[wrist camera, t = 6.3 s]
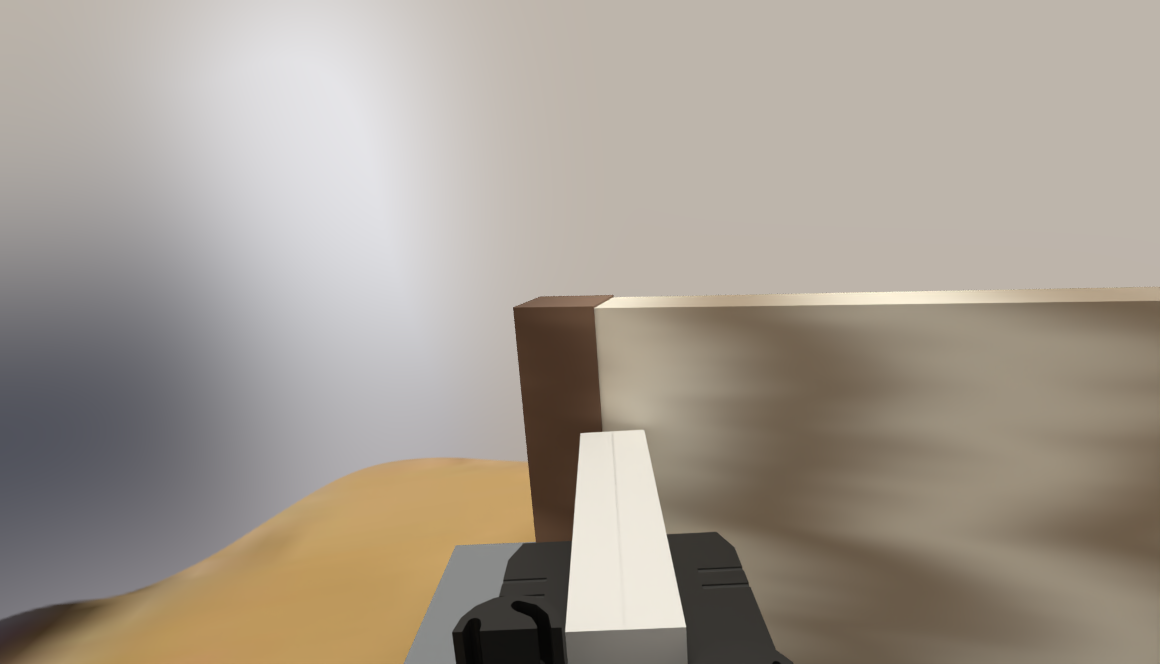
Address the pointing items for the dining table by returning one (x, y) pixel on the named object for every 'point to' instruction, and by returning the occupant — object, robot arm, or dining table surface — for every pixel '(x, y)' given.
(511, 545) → the dial plate
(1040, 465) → the wooden panel with post
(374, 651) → the dining table surface
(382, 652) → the dining table surface
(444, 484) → the dining table surface
